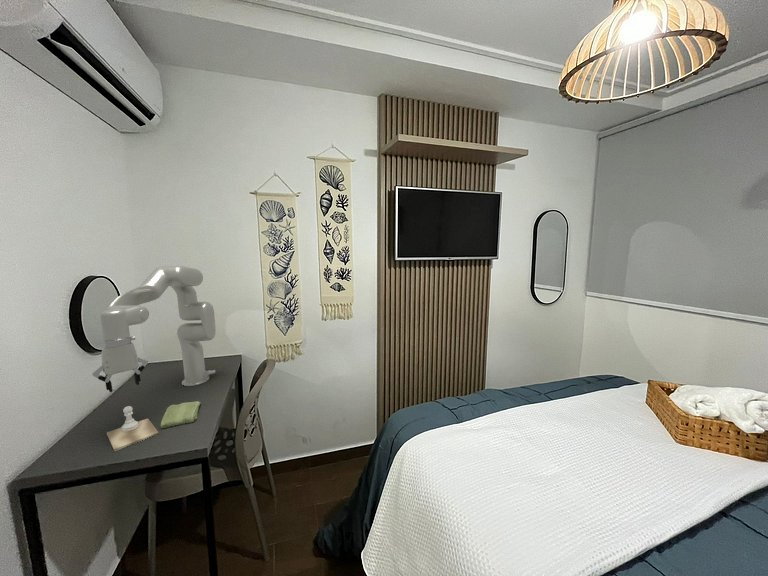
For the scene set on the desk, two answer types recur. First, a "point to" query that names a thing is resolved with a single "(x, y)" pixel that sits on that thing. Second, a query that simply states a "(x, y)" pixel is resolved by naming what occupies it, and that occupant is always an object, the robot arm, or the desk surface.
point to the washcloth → (180, 414)
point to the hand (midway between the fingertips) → (124, 387)
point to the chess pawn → (129, 420)
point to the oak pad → (131, 435)
